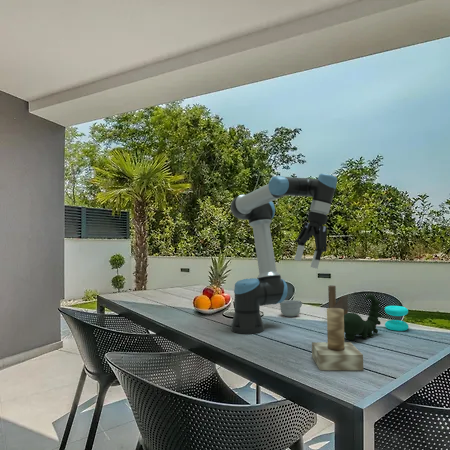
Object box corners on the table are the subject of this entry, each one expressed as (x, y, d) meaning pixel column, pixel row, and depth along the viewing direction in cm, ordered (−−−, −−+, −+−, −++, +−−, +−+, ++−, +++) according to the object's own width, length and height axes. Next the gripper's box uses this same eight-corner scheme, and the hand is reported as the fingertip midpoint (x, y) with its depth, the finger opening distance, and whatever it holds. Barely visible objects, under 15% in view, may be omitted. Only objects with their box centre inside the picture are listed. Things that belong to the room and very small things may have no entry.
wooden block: (343, 325, 181) (342, 288, 182) (327, 321, 191) (326, 285, 191) (348, 324, 183) (347, 287, 183) (332, 320, 192) (331, 285, 193)
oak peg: (329, 364, 127) (328, 311, 128) (326, 358, 133) (325, 307, 133) (347, 364, 127) (345, 311, 127) (342, 358, 133) (341, 307, 133)
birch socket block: (320, 370, 123) (319, 354, 123) (312, 356, 137) (311, 342, 137) (363, 370, 123) (362, 354, 123) (350, 356, 137) (350, 342, 137)
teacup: (287, 318, 197) (286, 303, 197) (276, 314, 207) (276, 300, 207) (309, 316, 202) (308, 301, 203) (297, 312, 212) (297, 298, 212)
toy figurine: (367, 334, 171) (330, 338, 157) (368, 292, 172) (331, 293, 158) (386, 339, 163) (348, 344, 149) (387, 295, 164) (350, 296, 151)
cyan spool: (399, 304, 180) (412, 308, 170) (399, 325, 179) (413, 331, 170) (380, 305, 178) (392, 309, 168) (380, 326, 178) (393, 332, 168)
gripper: (345, 218, 139) (330, 273, 140) (311, 212, 163) (298, 259, 164) (327, 213, 137) (313, 269, 138) (296, 208, 161) (283, 256, 162)
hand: (305, 264), depth 151 cm, fingers open, 13 cm apart
